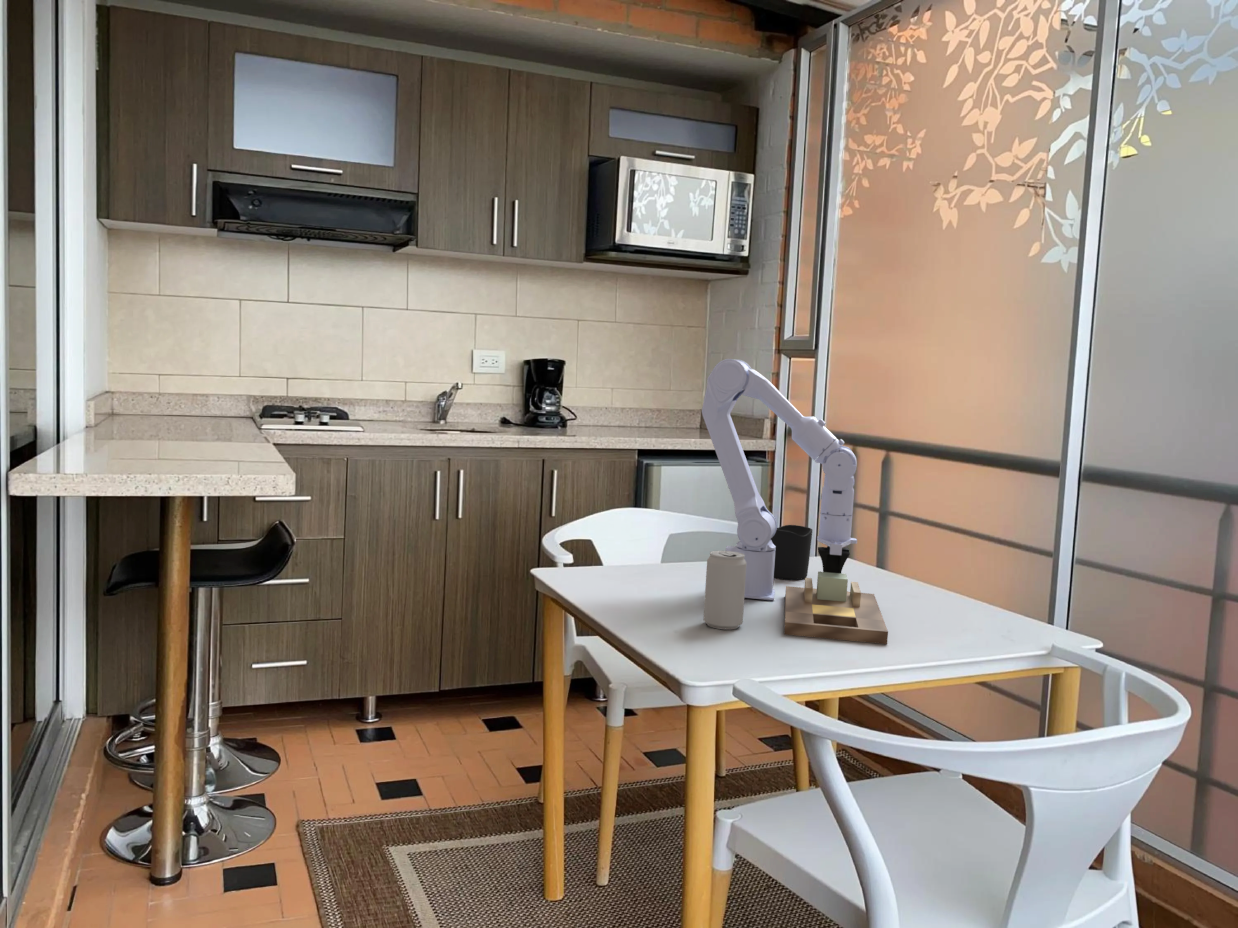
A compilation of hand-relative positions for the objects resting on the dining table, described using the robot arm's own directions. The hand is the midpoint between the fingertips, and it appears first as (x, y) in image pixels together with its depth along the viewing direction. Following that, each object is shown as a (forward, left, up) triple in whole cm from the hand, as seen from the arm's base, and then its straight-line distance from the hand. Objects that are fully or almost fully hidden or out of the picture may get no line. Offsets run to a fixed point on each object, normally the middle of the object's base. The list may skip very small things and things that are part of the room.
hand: (830, 587), depth 189 cm
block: (0, -4, -1) cm, 4 cm away
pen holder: (-8, +22, -3) cm, 24 cm away
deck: (0, -12, -3) cm, 12 cm away
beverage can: (-18, -24, -3) cm, 30 cm away
